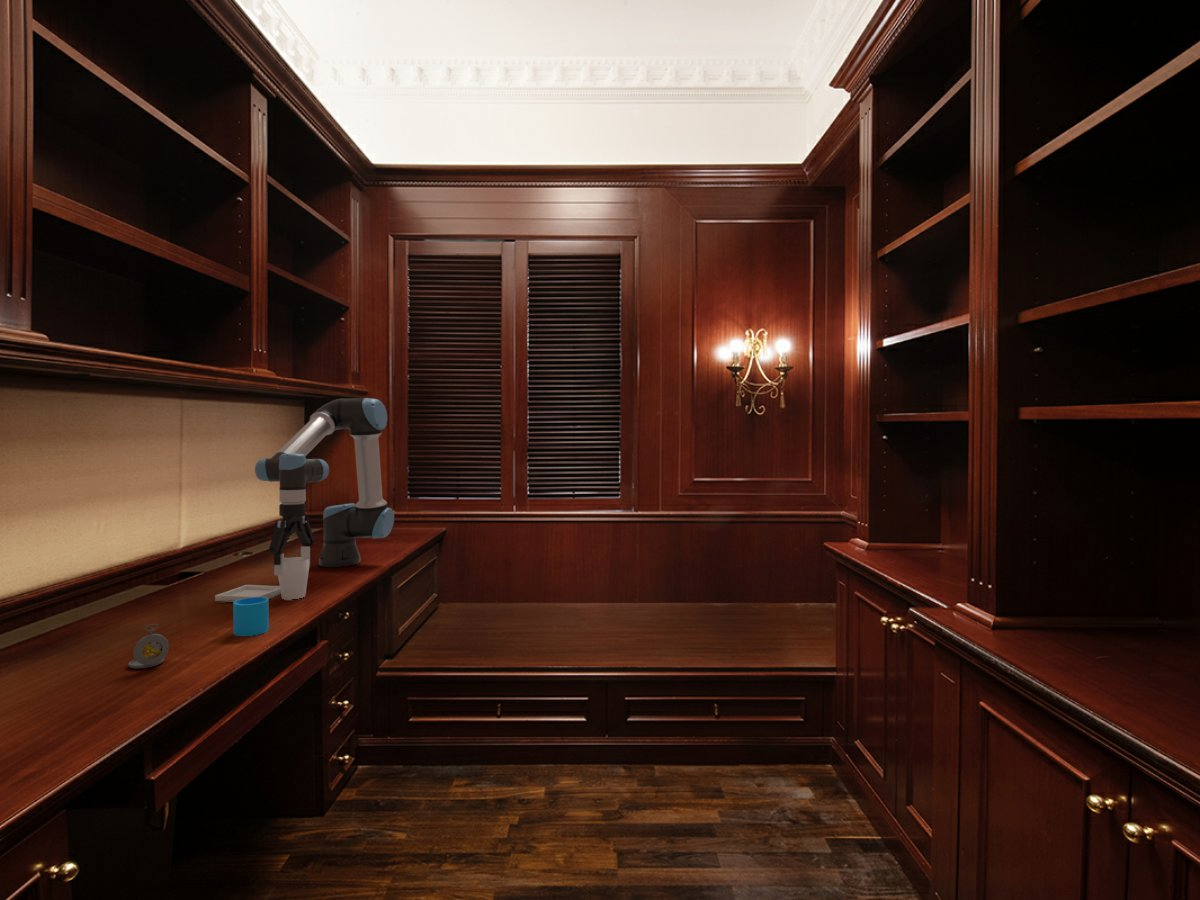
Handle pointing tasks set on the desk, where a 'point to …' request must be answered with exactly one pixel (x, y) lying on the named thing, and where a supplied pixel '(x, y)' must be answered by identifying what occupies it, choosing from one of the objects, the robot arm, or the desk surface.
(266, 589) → the tray
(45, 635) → the desk surface
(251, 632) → the mug
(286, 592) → the cup
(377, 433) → the robot arm
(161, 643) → the pocket watch
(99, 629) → the desk surface
